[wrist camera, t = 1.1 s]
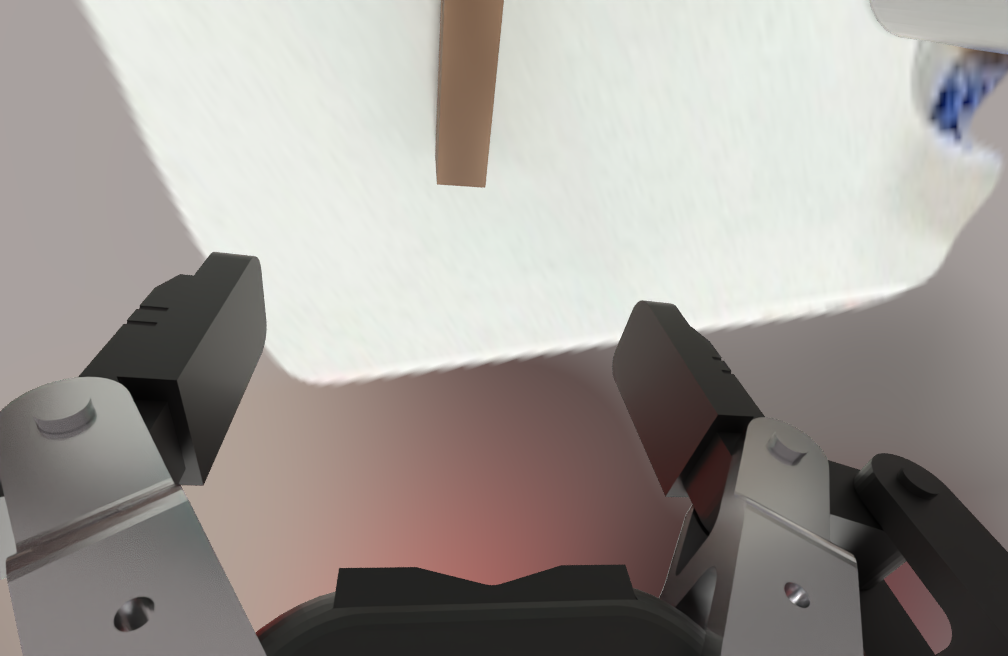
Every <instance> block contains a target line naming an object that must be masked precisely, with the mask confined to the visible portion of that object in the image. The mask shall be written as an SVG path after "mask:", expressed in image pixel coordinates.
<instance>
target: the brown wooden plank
mask: <svg viewBox="0 0 1008 656" xmlns="http://www.w3.org/2000/svg"><path fill="white" fill-rule="evenodd" d="M503 3H504V0H441V17H440V45H439V72H438V99H437V126H436V153H435V160H436V175H437V184H440V185H455V186H469V187H484V188H485V184H486V174H487V164H488V154H489V144H490V134H491V124H492V114H493V104H494V94H495V83H496V73H497V63H498V53H499V43H500V33H501V23H502V13H503Z"/></svg>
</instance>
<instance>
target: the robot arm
mask: <svg viewBox="0 0 1008 656" xmlns="http://www.w3.org/2000/svg"><path fill="white" fill-rule="evenodd" d="M870 5H871V8H872V11H873V13H874V15H875V17H876V19H877V21H878V22H879V23H880V24H881V25H882V26H883V27H884V28H885V29H886V31H888V32H890V33H892V34H894V35H896V36H898V37H903V38H910V39H916V40H922V41H928V42H935V43H941V44H947V45H953V46H959V47H964V48H970V49H976V50H982V51H989V52H995V53H1002V54H1008V0H870ZM265 339H266V313H265V303H264V293H263V283H262V273H261V265H260V262H259V259H258V258H257V257H255V256H247V255H238V254H229V253H220V252H213V253H211V254H210V255H209V257H208V258H207V259H206V261H205V262H204V263H203V264H202V266H201V267H200V268H199V270H198V271H197V272H196V274H195V275H194V276H192V275H182V274H180V275H178V276H176V277H174V278H172V279H170V280H169V281H167V282H165V283H163V284H161V285H159V286H157V287H155V288H154V289H153V291H152V292H151V293H150V294H149V295H148V296H147V298H146V299H145V300H144V301H143V302H142V303H141V305H140V309H136V310H135V312H134V313H133V314H132V315H131V316H130V317H129V318H128V320H127V324H123V326H122V327H121V328H120V329H119V330H118V331H117V332H116V334H115V335H114V336H113V337H112V338H111V340H110V341H109V342H108V343H107V344H106V345H105V346H104V348H103V349H102V350H101V351H100V352H99V353H98V354H97V356H96V357H95V358H94V359H93V360H92V361H91V363H90V364H89V365H88V366H87V368H85V370H84V371H83V372H82V373H81V374H80V375H79V377H76V378H70V379H64V380H60V381H55V382H52V383H48V384H45V385H42V386H40V387H37V388H35V389H32V390H30V391H28V392H26V393H24V394H23V395H21V396H19V397H18V398H16V399H14V400H13V401H11V402H10V403H9V404H8V405H7V406H5V407H4V408H3V409H2V410H1V411H0V579H4V578H7V581H8V586H9V591H10V596H11V601H12V605H13V610H14V615H15V620H16V625H17V629H18V634H19V639H20V644H21V648H22V653H23V656H1008V552H1007V551H1006V550H1005V549H1004V548H1003V547H1002V546H1001V544H1000V543H999V542H998V541H997V540H996V539H995V538H994V537H993V536H992V535H991V534H990V533H989V531H988V530H987V529H986V528H985V527H984V526H983V525H982V524H981V523H980V522H979V521H978V520H977V519H976V517H975V516H974V515H973V514H972V513H971V512H970V511H969V510H968V509H967V508H966V507H965V506H964V505H963V504H962V502H961V501H960V500H959V499H958V498H957V497H956V496H955V495H954V494H953V493H952V492H951V491H950V489H948V488H947V486H946V485H944V483H943V482H941V481H940V480H939V479H938V478H937V477H935V476H934V475H933V474H931V473H930V472H929V471H927V470H926V469H924V468H923V467H921V466H919V465H917V464H916V463H914V462H912V461H910V460H908V459H905V458H903V457H900V456H897V455H893V454H885V453H882V454H877V455H875V456H874V457H873V458H872V459H871V460H870V461H869V462H868V463H867V464H866V465H865V466H864V467H863V468H862V469H861V470H858V469H855V468H852V467H849V466H845V465H842V464H839V463H836V462H832V461H829V460H827V457H826V456H825V454H824V452H823V451H822V449H821V448H820V447H819V446H818V445H817V444H816V442H815V441H813V440H812V439H811V438H810V437H809V436H808V435H806V434H805V433H804V432H802V431H801V430H799V429H798V428H796V427H794V426H792V425H790V424H788V423H786V422H783V421H781V420H778V419H774V418H768V417H765V416H764V415H763V414H762V412H761V411H760V410H759V408H758V407H757V405H756V404H755V403H754V401H753V400H752V398H751V397H750V396H749V395H748V393H747V392H746V390H745V389H744V388H743V386H742V385H741V383H740V382H739V381H738V379H737V378H736V377H735V375H734V374H731V370H730V368H729V367H728V366H727V364H726V363H725V362H724V361H721V356H720V355H719V354H718V352H717V351H716V349H715V348H714V347H713V345H712V344H711V343H710V341H708V340H707V339H706V338H705V337H703V336H702V335H701V334H700V333H698V332H697V331H696V330H695V329H693V328H692V327H690V325H689V324H688V323H687V321H686V320H685V318H684V317H683V316H682V314H681V313H680V311H679V310H678V308H677V307H676V306H675V305H674V304H670V303H661V302H652V301H639V302H638V303H637V304H636V305H635V306H634V308H633V310H632V313H631V315H630V317H629V320H628V322H627V325H626V327H625V329H624V332H623V334H622V336H621V339H620V341H619V344H618V346H617V349H616V351H615V353H614V357H613V365H612V367H613V368H612V369H613V376H614V380H615V382H616V384H617V387H618V389H619V391H620V394H621V396H622V398H623V400H624V403H625V405H626V407H627V410H628V412H629V414H630V417H631V419H632V421H633V423H634V426H635V428H636V430H637V433H638V435H639V437H640V439H641V442H642V444H643V446H644V449H645V451H646V453H647V455H648V458H649V460H650V462H651V464H652V467H653V469H654V471H655V474H656V476H657V478H658V481H659V483H660V485H661V487H662V490H663V492H664V494H665V497H689V498H690V499H691V502H692V504H693V505H692V506H691V507H690V509H689V510H688V512H687V514H686V516H685V519H684V522H683V525H682V529H681V532H680V535H679V539H678V542H677V545H676V549H675V552H674V555H673V559H672V562H671V565H670V569H669V572H668V575H667V579H666V582H665V585H664V588H663V590H662V592H661V595H660V597H659V598H657V597H655V596H653V595H651V594H648V593H645V592H643V591H640V590H638V589H634V588H632V584H631V581H630V578H629V575H628V572H627V569H626V566H625V565H567V566H566V565H561V566H558V567H555V568H552V569H549V570H545V571H542V572H538V573H535V574H532V575H529V576H526V577H522V578H519V579H516V580H513V581H510V582H506V583H503V584H499V585H485V584H481V583H477V582H473V581H469V580H465V579H461V578H457V577H453V576H449V575H445V574H441V573H437V572H433V571H429V570H425V569H421V568H417V567H397V568H396V567H395V568H339V573H338V579H337V586H336V592H333V593H329V594H326V595H323V596H319V597H317V598H314V599H312V600H309V601H307V602H305V603H302V604H300V605H298V606H296V607H294V608H293V609H291V610H289V611H287V612H285V613H283V614H281V615H280V616H278V617H277V618H275V619H274V620H273V621H271V622H269V623H268V624H267V625H265V626H264V627H262V628H261V629H259V630H258V631H257V632H256V633H255V632H254V629H253V628H252V625H251V623H250V622H249V619H248V618H247V615H246V613H245V611H244V609H243V608H242V605H241V603H240V601H239V600H238V597H237V596H236V593H235V592H234V589H233V587H232V586H231V584H230V582H229V580H228V578H227V576H226V574H225V572H224V570H223V568H222V566H221V564H220V562H219V560H218V558H217V556H216V554H215V552H214V550H213V548H212V546H211V544H210V542H209V540H208V538H207V536H206V534H205V532H204V530H203V528H202V526H201V524H200V522H199V520H198V518H197V516H196V514H195V512H194V510H193V508H192V506H191V504H190V502H189V500H188V498H187V496H186V494H185V492H184V490H183V489H182V487H181V485H195V486H197V485H199V486H203V485H204V483H205V481H206V479H207V476H208V474H209V472H210V470H211V467H212V465H213V462H214V460H215V458H216V456H217V454H218V451H219V449H220V447H221V444H222V442H223V440H224V438H225V435H226V433H227V431H228V429H229V426H230V424H231V422H232V419H233V417H234V415H235V413H236V410H237V408H238V406H239V404H240V401H241V399H242V397H243V395H244V392H245V390H246V388H247V385H248V383H249V381H250V379H251V376H252V374H253V372H254V369H255V367H256V365H257V363H258V360H259V358H260V356H261V353H262V351H263V348H264V344H265ZM906 561H907V562H908V563H909V565H910V566H911V567H912V569H913V570H914V571H915V573H916V574H917V576H918V577H919V578H920V579H921V581H922V582H923V584H924V585H925V586H926V588H927V589H928V590H929V592H930V593H931V594H932V596H933V597H934V598H935V600H936V601H937V602H938V604H939V605H940V607H941V608H942V609H943V611H944V612H945V614H946V615H947V617H948V619H949V622H950V624H951V629H952V640H951V643H950V645H949V646H948V647H947V648H946V649H945V650H943V651H941V652H940V653H938V654H936V655H935V654H934V652H933V651H932V649H931V648H930V647H929V645H928V644H927V642H926V641H925V639H924V638H923V636H922V635H921V633H920V632H919V630H918V629H917V628H916V626H915V625H914V623H913V622H912V620H911V619H910V617H909V616H908V614H907V613H906V611H905V610H904V609H903V607H902V606H901V604H900V603H899V601H898V600H897V598H896V597H895V595H894V594H893V592H892V591H891V589H890V588H889V586H888V585H887V584H886V582H885V581H884V578H886V577H887V576H888V575H889V574H891V573H892V572H893V571H894V570H896V569H897V568H898V567H900V566H901V565H902V564H903V563H905V562H906Z"/></svg>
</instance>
